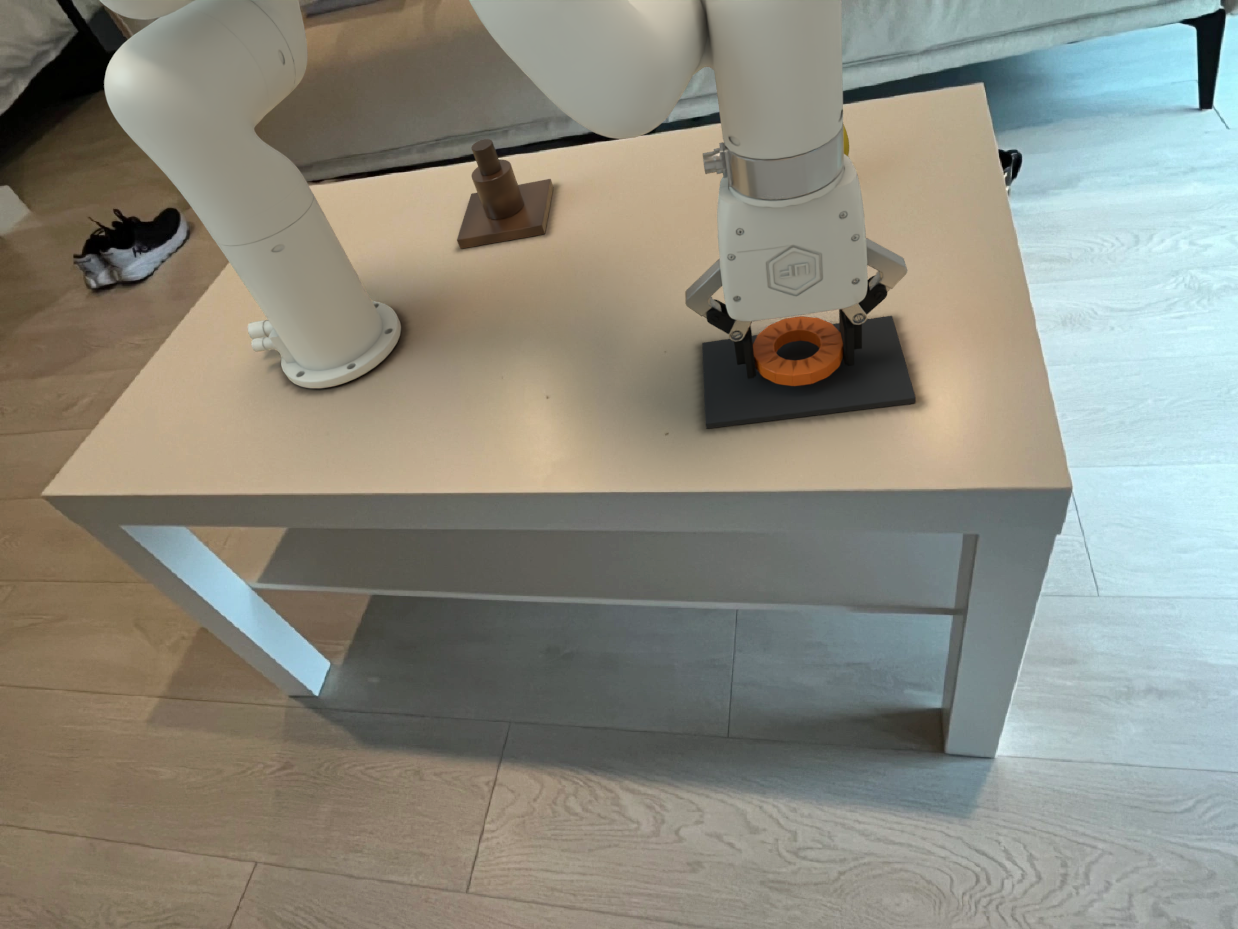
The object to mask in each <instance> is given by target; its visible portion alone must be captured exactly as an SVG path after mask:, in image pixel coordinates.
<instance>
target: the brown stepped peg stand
mask: <svg viewBox="0 0 1238 929" xmlns="http://www.w3.org/2000/svg"><path fill="white" fill-rule="evenodd" d="M471 152H472V154H473V157H474V159H475V162H476V165H477V167H475V168H474V170H472V172H471V181H472V182H473V185H474V188H475V190H476V192H473V193H470V197H469V200H468V203H467V205H466V209H465V211H464V212H465V213H464V216H463V219H462V222H461V225H460V229H459V232H458V235H457V238H456V241H457V244H458V246H459V249H460V250H463V249H466V248H467V249H469V248H473V247H479V246H484V245H490V244H496V243H502V242H507V241H514V240H518V239H519V240H520V239H524V238H529V237H536V236H542V235H545V234H546V229H547V224H548V218H549V213H550V208H551V202H552V197H553V192H554V185H553V181H552V179H551V178H546V179H542V180H537V181H536V180H535V181H531V182H526V183H520V184H518V181H517V179H516V175H515V172H514V169H513V166H512V163H511V162H510V160H507V159H499V156H498V153H497V150H496V147H495V144H494V142H493V140H492V139H489V138H487V139H486V138H483V139H481V140H480V139H479V140H478V141H476V142H474V143H473V144H472V145H471Z"/></svg>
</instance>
